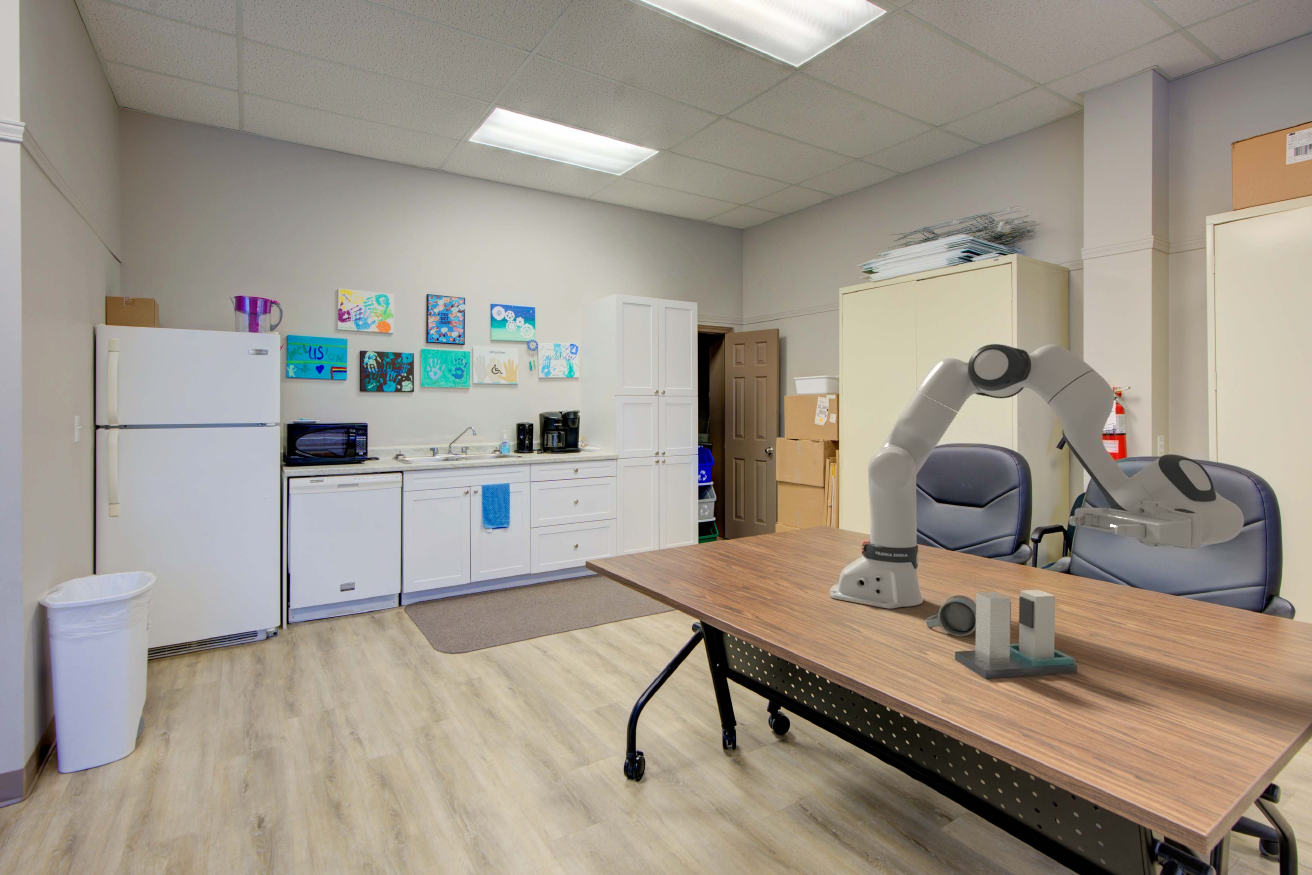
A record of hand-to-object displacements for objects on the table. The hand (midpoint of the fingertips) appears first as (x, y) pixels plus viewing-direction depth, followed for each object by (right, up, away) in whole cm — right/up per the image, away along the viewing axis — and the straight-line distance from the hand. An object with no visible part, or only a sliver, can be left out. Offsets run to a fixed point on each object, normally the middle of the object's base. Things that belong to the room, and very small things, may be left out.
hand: (1091, 525), depth 117 cm
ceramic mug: (-18, -26, +18) cm, 36 cm away
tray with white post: (-15, -26, -1) cm, 30 cm away
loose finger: (-11, -24, -1) cm, 27 cm away
